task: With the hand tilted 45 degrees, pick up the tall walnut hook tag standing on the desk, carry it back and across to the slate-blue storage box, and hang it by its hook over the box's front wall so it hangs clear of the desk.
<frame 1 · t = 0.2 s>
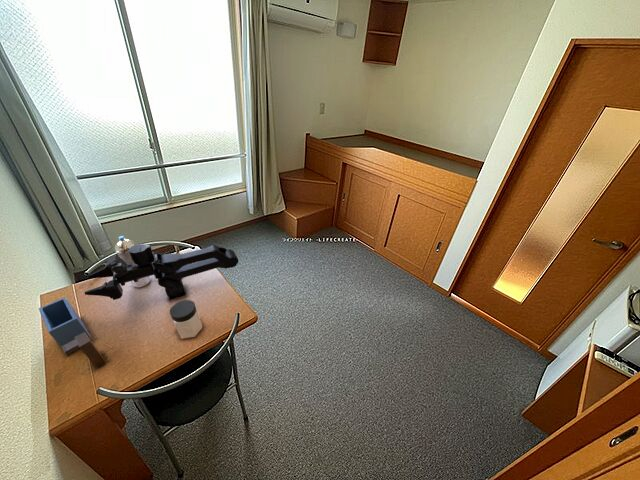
hand: (86, 285, 90), 17 cm above the table, tool horizontal, fingers open, 9 cm apart
hook tag: (98, 360, 85), on the table
storage box: (74, 335, 92), on the table
carrying case: (172, 265, 126), on the table
jar: (190, 329, 97), on the table
water bottle: (142, 283, 115), on the table
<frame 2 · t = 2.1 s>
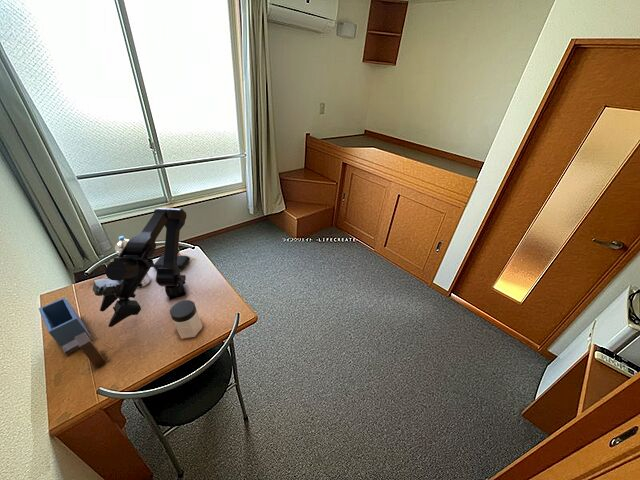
hand: (105, 318, 82), 14 cm above the table, tool tilted 45°, fingers open, 9 cm apart
nothing on the table moved.
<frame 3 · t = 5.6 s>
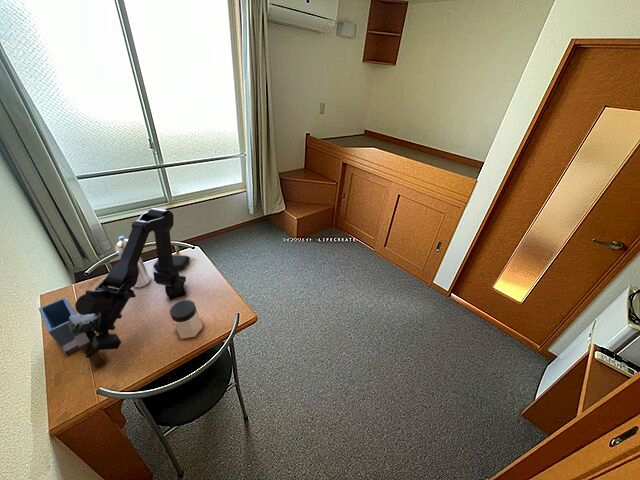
hand: (84, 352, 80), 7 cm above the table, tool tilted 45°, fingers closed on hook tag, 5 cm apart
hook tag: (98, 360, 85), on the table, touching gripper
everything else where it was.
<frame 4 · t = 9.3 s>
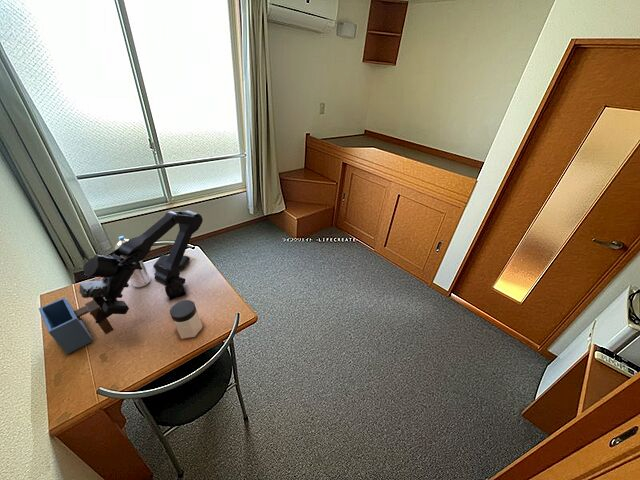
hand: (94, 318, 85), 11 cm above the table, tool tilted 45°, fingers closed on hook tag, 5 cm apart
hook tag: (107, 328, 90), point 4 cm above the table, touching gripper
everything else where it was.
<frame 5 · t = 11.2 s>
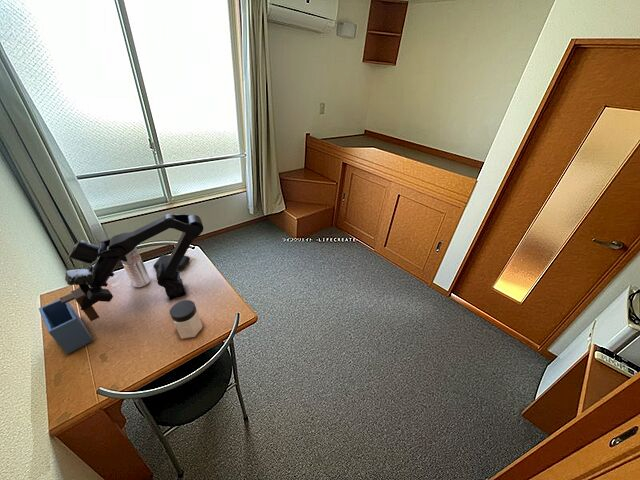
hand: (80, 305, 89), 11 cm above the table, tool tilted 45°, fingers closed on hook tag, 5 cm apart
hook tag: (93, 315, 94), point 5 cm above the table, touching gripper
everything else where it was.
when the fingers open (8 cm above the table, at t = 13.0 s): hook tag moves 1 cm, resting on storage box.
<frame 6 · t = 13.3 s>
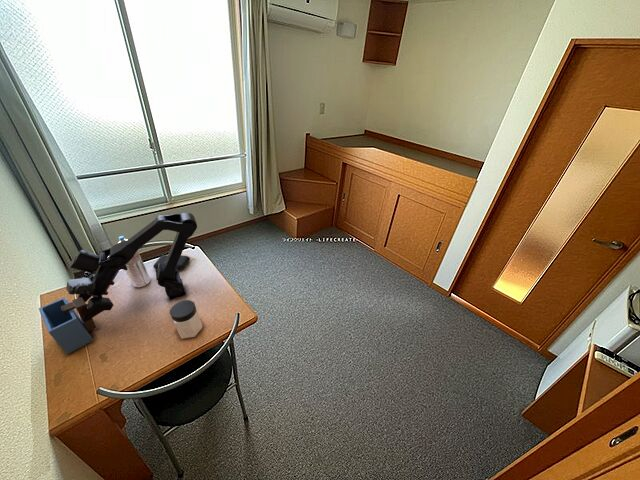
hand: (80, 314, 90), 8 cm above the table, tool tilted 45°, fingers open, 8 cm apart
hook tag: (90, 325, 94), point 1 cm above the table, tilted 6°, touching storage box
everything else where it was.
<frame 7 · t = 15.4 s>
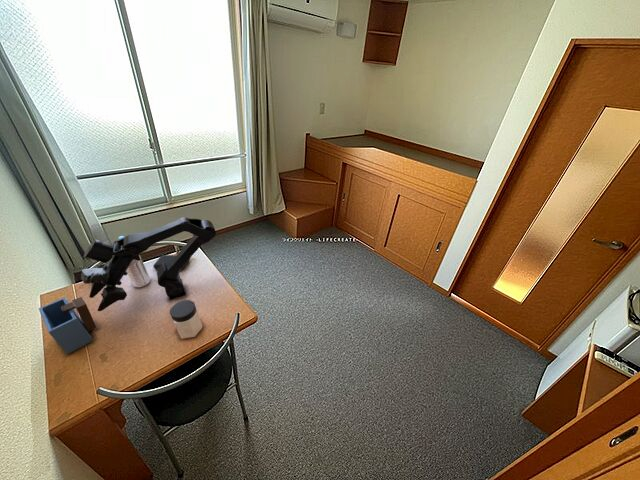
hand: (94, 304, 91), 10 cm above the table, tool tilted 45°, fingers open, 9 cm apart
nothing on the table moved.
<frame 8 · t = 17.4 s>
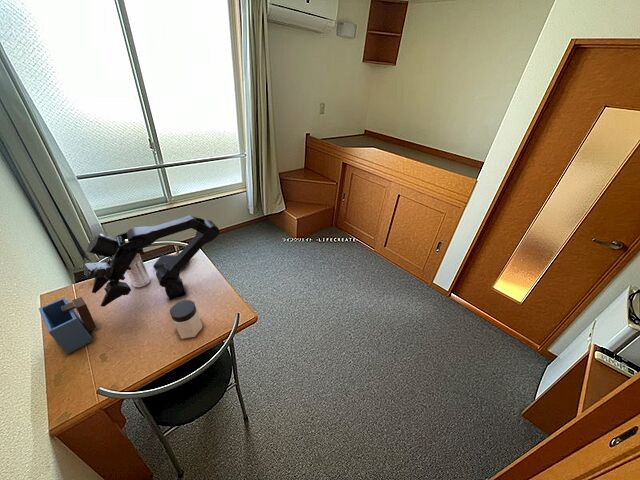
hand: (97, 299, 89), 14 cm above the table, tool tilted 45°, fingers open, 9 cm apart
nothing on the table moved.
at the end: hook tag 1.0 cm from the target spot on the table beside the storage box, point 0.9 cm above the table; hook tag touching storage box; the gripper is holding nothing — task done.
